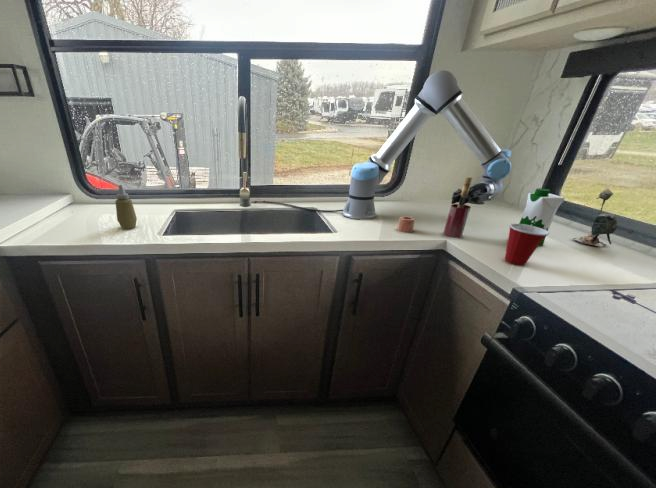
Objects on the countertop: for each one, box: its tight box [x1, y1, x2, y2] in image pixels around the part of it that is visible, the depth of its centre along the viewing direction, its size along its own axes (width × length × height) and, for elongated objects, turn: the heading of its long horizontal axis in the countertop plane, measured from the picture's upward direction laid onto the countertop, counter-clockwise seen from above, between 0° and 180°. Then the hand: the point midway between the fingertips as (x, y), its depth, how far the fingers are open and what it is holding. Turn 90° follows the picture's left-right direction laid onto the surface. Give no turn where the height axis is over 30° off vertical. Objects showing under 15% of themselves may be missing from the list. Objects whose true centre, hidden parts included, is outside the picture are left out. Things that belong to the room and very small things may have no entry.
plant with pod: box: [573, 188, 618, 248], centre depth 123 cm, size 8×11×20 cm
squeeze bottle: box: [114, 184, 138, 230], centre depth 144 cm, size 8×8×18 cm
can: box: [442, 203, 472, 239], centre depth 134 cm, size 7×7×12 cm
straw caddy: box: [397, 215, 416, 233], centre depth 141 cm, size 6×6×6 cm
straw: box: [457, 176, 473, 208], centre depth 130 cm, size 2×2×19 cm
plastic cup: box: [504, 222, 550, 266], centre depth 110 cm, size 11×11×12 cm
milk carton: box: [518, 187, 566, 247], centre depth 124 cm, size 9×9×20 cm
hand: (457, 200), depth 127 cm, fingers closed on straw, 2 cm apart
